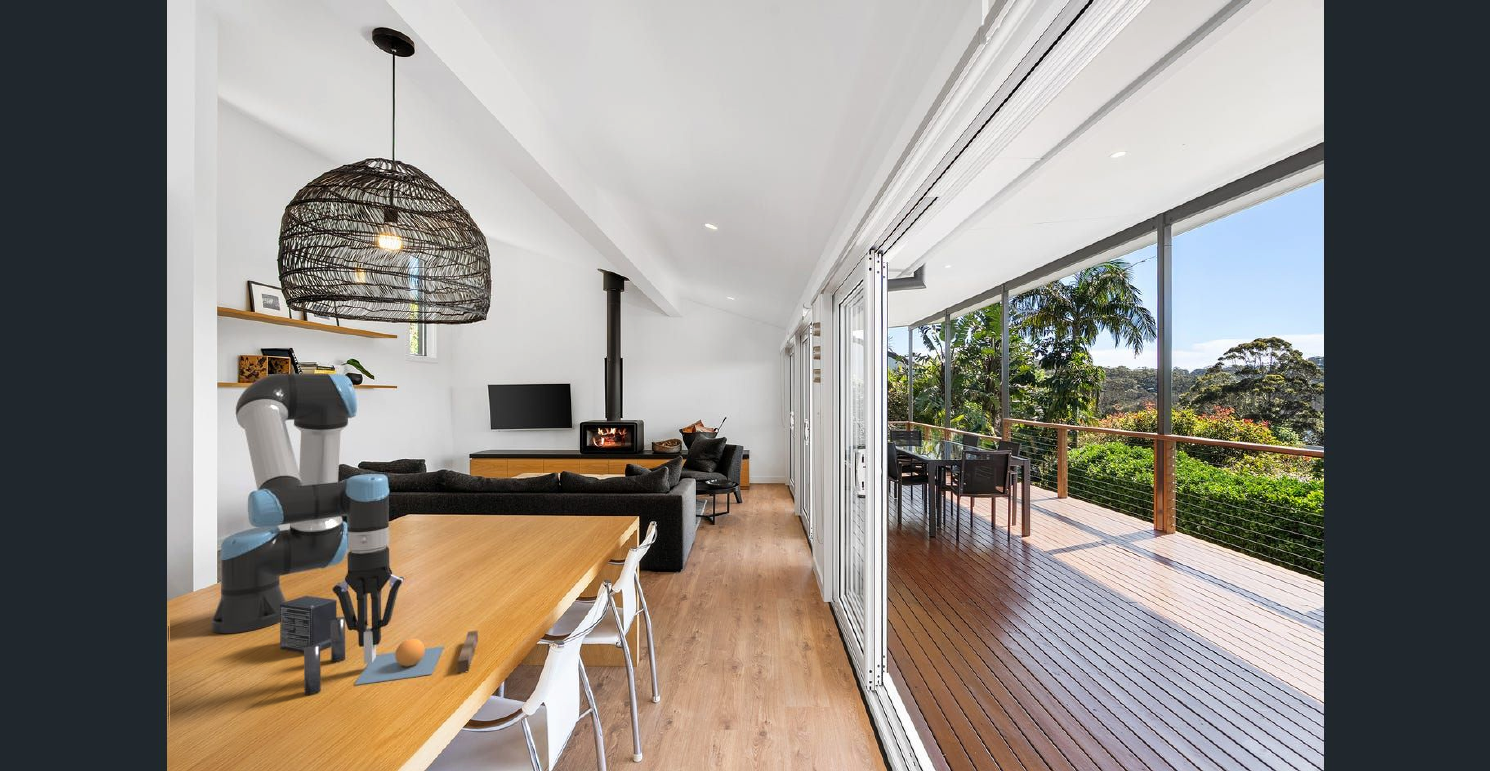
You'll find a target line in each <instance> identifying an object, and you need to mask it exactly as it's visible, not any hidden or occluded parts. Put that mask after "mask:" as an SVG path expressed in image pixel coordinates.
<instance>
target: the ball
mask: <svg viewBox="0 0 1490 771" xmlns="http://www.w3.org/2000/svg"><path fill="white" fill-rule="evenodd" d="M425 649H426V647H425V645H424V643H423V641H421V640H420V639H418V638H408V639H405V640H403V641H402V642H401V643H400V644H399V645H398V646H397V647H396V650H395V652H396V653H395V652H394V653H395V657H396V660H397V662H398V663H399V664H400V665H402V666H406V667H409V666H413V665H415V664H417V663H418V662H419V661H420V660H421V659H422V658H423V656H424V652H425Z"/></svg>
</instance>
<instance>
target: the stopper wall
mask: <svg viewBox="0 0 1490 771" xmlns="http://www.w3.org/2000/svg"><path fill="white" fill-rule="evenodd" d="M478 633H479V632H478V630H472V631H471V630H470V631H467V634H466V637H465V640H464V642H463V646H462V648H461V651H460V654H459V657H458V659H457V674H462V673H461V672H463V673H467V672H466V671H468V672H469V671H470V667H471V665H472V662H471V661H473V658H474V655H475V651H476V649H477V645H478V642H479V641H478V640H479V639H478V638H479V637H478V636H479V634H478ZM475 648H476V649H475ZM470 664H471V665H470Z"/></svg>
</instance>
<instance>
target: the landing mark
mask: <svg viewBox="0 0 1490 771" xmlns="http://www.w3.org/2000/svg"><path fill="white" fill-rule="evenodd" d="M444 648H445V646H444V645H443V646H435V647H429V648H428V647H426V648H425V652H424V656H423V658H422V659H421V660H420V661H419V662H418V663H417V664H415V665H413V666H409V667H406V666H402V665H400V664H399V663H398V662H397V660H396V657H395V653H396V651H395V652H389V653H382V654H376V658H375V659H374V661H373V662H372V663H367V666H365V668H364V669H363V671H362V672H361V674H360V676H359V677H358V678H357V680H356V682H355V683H354V687H355V686H360V685H361V686H362V685H368V684H376V683H384V682H390V681H397V679H399V680H404V679H410V678H419V676H420V677H426V676H425V675H427V676H432V675H433V674H434V671H435V669H436V667H435V666H437V664H438V663H439V660H440V658H439V657H441V655H442V652H443V651H442V650H444ZM431 674H432V675H431Z"/></svg>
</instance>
